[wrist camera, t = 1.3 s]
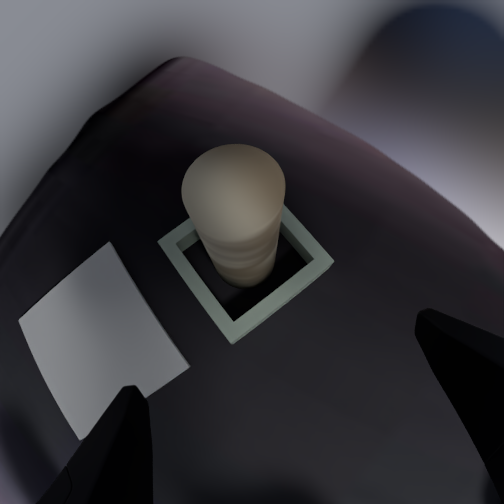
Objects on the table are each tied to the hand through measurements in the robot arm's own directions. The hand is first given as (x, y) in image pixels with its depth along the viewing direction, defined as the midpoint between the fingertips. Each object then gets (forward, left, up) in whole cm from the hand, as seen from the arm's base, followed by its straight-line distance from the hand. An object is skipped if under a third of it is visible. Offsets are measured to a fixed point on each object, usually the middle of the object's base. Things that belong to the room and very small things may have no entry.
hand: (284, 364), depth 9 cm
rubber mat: (-11, +9, -13) cm, 19 cm away
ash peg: (+3, +7, -13) cm, 15 cm away
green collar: (+3, +7, -13) cm, 15 cm away
